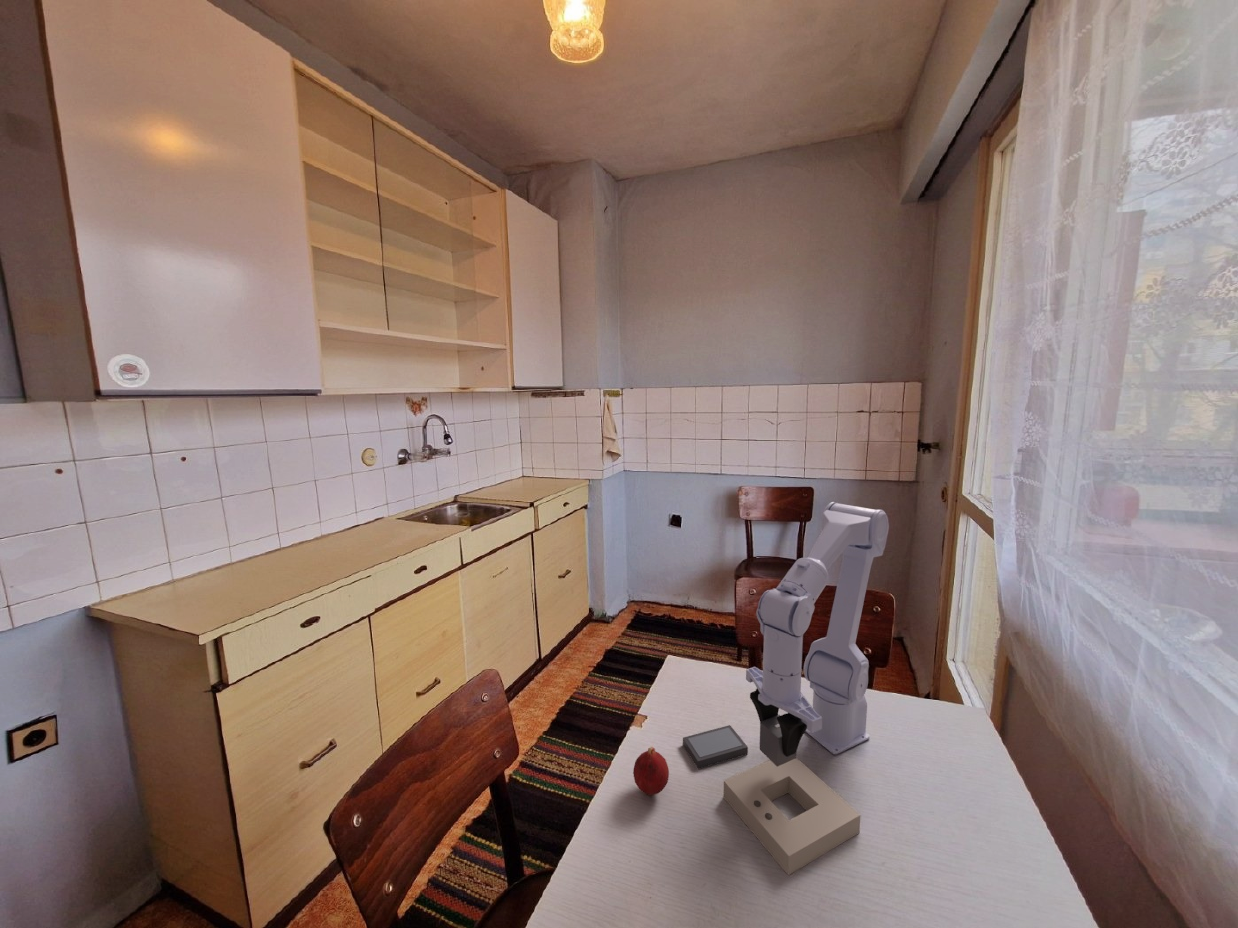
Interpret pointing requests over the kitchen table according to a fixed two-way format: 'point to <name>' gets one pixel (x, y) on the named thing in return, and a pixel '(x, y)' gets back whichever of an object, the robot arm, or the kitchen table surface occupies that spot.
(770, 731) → the block
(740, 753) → the phone
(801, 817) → the outlet plate
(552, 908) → the kitchen table surface
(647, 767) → the onion
